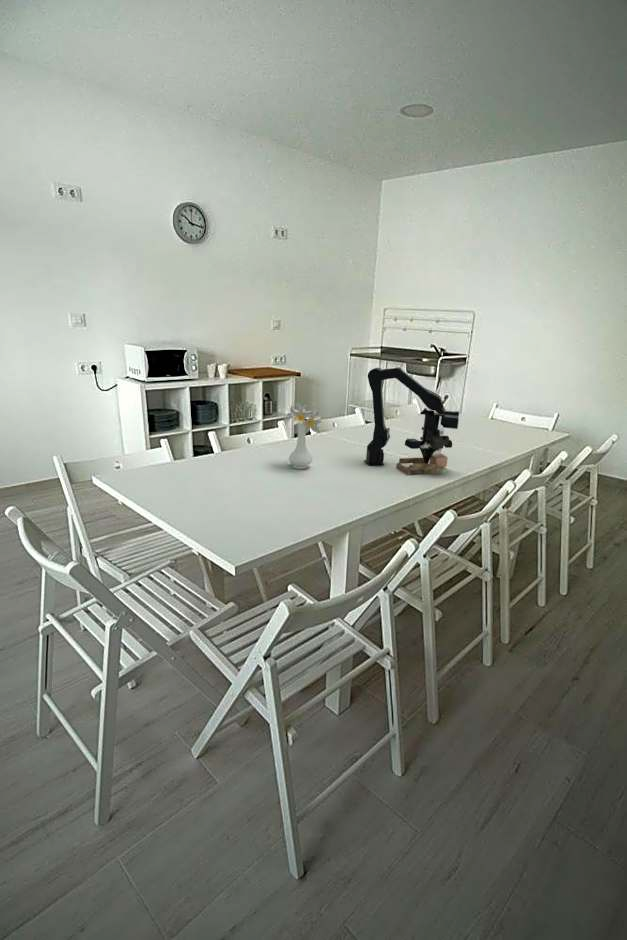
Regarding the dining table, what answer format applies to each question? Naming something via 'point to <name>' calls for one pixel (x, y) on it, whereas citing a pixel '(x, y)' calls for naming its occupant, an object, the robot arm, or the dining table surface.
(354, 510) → the dining table surface
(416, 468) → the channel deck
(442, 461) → the block
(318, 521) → the dining table surface
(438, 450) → the bath foam
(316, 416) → the flower vase
